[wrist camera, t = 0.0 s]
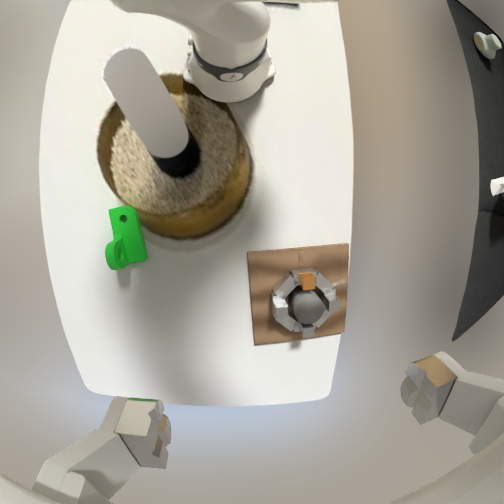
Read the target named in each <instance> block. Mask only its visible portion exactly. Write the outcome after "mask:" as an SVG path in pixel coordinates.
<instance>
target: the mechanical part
mask: <svg viewBox="0 0 504 504" xmlns="http://www.w3.org/2000/svg"><path fill="white" fill-rule="evenodd" d="M109 215H110V220H111V225H112V230H113V234H114V240H113V241H112V242H110V243H108V244H107V246H106V251H105V255H106V261H107V263H108V266H109V267H110V268H111V269H112V270H117V269H123V268H124V267H125V266H127V265H128V264H129V263H135V262H140V261H146V260H147V259H148V256H147V252H146V247H145V243H144V239H143V234H142V229H141V224H140V220H139V215H138V213H137V211H136V210H135V209H134V208H133V207H131V206H122V207H118V208H114V209H110V210H109ZM123 215H125V216H126V217H127V221H126V222H124V221H123V219H122V217H123Z"/></svg>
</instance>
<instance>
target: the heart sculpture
mask: <svg viewBox="0 0 504 504" xmlns="http://www.w3.org/2000/svg"><path fill="white" fill-rule="evenodd" d="M491 192H492V195H493V196H494V195H497V194H499V193H502V192H504V177H501V178H498V179H494V180H491Z"/></svg>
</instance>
